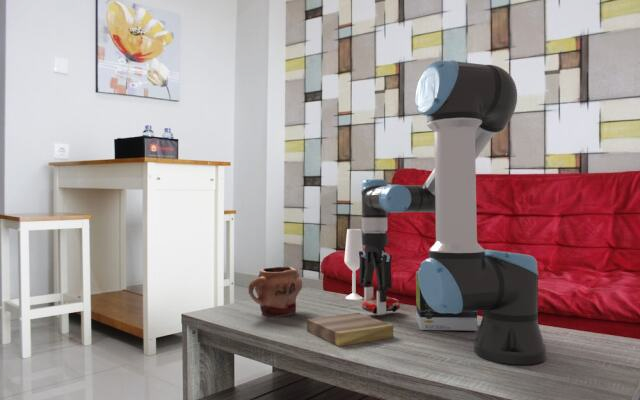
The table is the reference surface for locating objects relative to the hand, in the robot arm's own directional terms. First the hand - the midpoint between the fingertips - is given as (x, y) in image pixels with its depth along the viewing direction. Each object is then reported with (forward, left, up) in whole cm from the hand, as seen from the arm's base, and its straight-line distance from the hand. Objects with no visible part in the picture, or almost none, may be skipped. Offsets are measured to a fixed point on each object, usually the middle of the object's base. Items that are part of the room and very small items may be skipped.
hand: (375, 310), depth 150 cm
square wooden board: (-13, +17, -2) cm, 21 cm away
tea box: (-19, -10, -2) cm, 21 cm away
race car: (-1, +1, -3) cm, 3 cm away
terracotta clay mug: (+16, +25, -2) cm, 30 cm away
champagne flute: (+26, -9, -2) cm, 28 cm away
